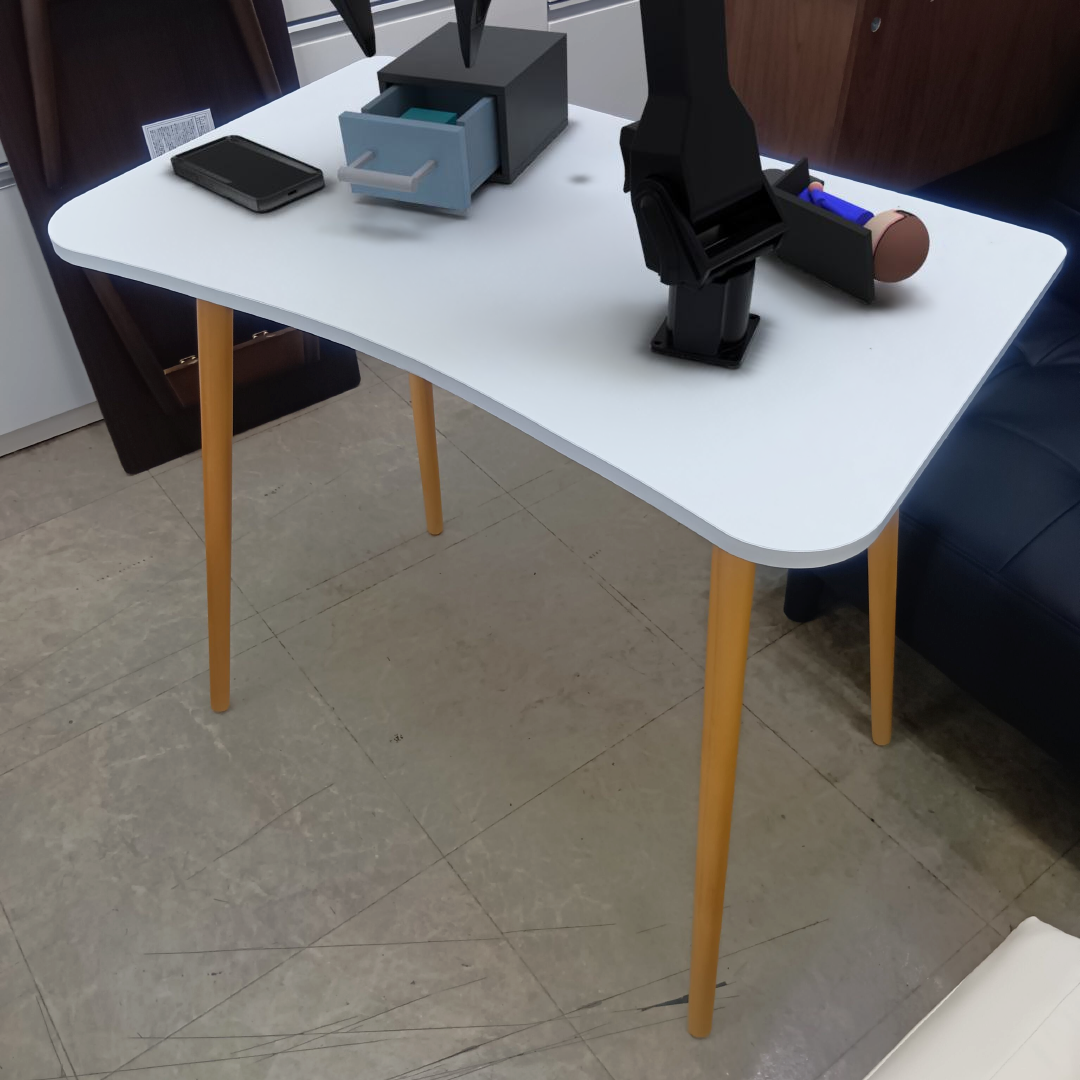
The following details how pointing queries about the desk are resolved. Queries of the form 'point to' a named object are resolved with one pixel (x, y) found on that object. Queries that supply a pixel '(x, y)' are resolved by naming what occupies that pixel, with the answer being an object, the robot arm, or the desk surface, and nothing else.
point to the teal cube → (430, 116)
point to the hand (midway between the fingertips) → (420, 61)
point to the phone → (248, 172)
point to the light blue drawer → (421, 146)
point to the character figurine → (845, 236)
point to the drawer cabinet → (498, 84)
